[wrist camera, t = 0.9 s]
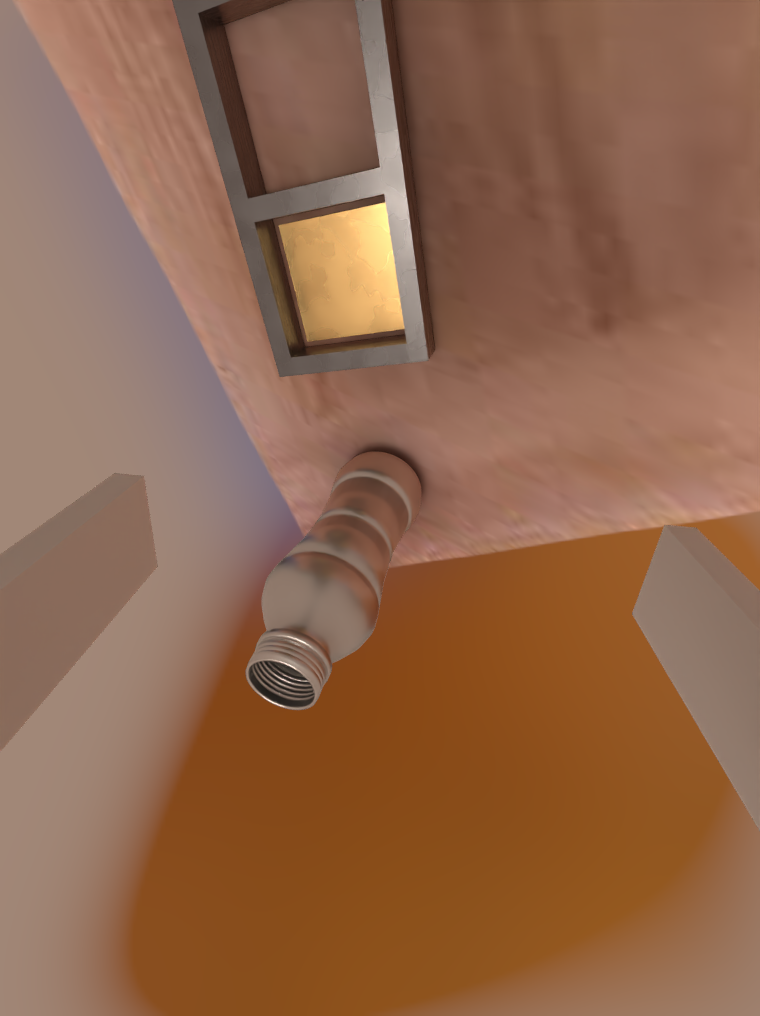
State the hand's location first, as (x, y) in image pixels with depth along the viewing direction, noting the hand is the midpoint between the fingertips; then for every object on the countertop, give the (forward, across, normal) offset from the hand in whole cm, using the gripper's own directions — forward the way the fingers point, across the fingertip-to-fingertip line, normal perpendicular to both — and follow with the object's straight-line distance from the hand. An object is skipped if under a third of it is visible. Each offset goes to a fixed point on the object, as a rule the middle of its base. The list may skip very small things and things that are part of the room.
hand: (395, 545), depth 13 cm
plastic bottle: (+26, -1, -9) cm, 27 cm away
